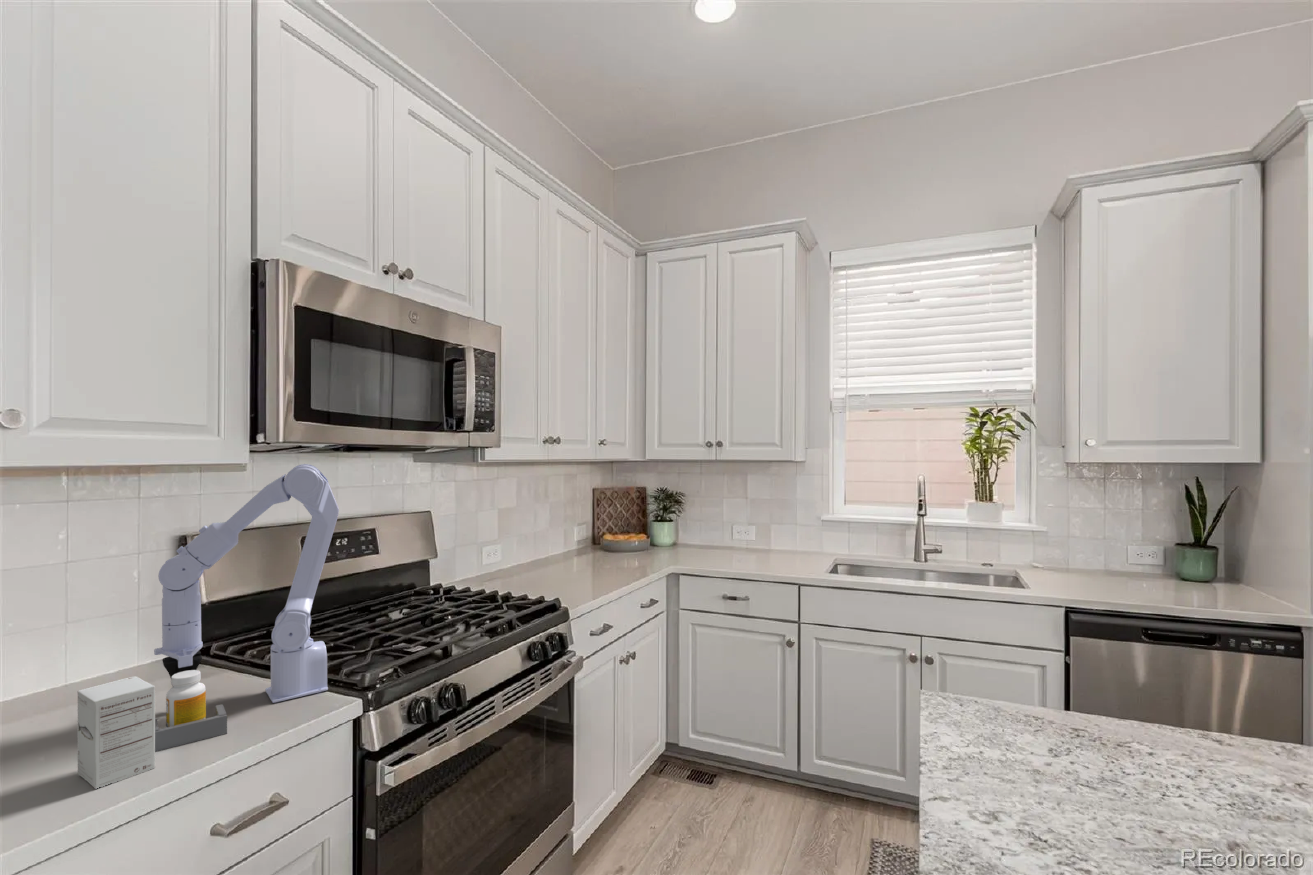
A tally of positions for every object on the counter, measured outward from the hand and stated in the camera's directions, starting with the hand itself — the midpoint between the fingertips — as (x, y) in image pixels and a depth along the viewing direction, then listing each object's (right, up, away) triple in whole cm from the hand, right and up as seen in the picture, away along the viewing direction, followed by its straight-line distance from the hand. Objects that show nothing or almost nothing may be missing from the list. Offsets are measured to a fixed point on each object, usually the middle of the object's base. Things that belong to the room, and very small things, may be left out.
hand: (182, 695), depth 117 cm
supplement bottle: (+7, -3, -9) cm, 11 cm away
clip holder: (+9, -3, -10) cm, 14 cm away
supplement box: (+6, -3, -22) cm, 23 cm away
